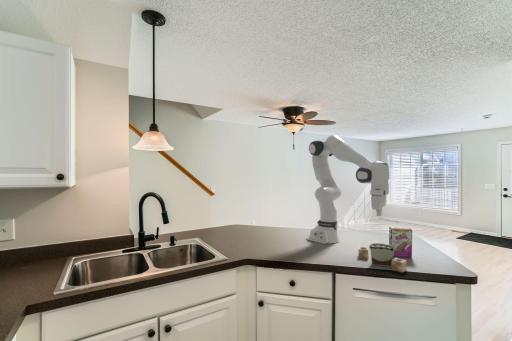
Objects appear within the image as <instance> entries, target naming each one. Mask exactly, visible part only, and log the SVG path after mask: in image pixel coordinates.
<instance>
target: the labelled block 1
mask: <svg viewBox="0 0 512 341" xmlns="http://www.w3.org/2000/svg"><path fill="white" fill-rule="evenodd" d="M357 251H358V256H357V257H358V258H359V259H364V260H368V259H369V247H365V246H358V250H357Z"/></svg>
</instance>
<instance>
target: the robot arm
mask: <svg viewBox="0 0 512 341" xmlns="http://www.w3.org/2000/svg"><path fill="white" fill-rule="evenodd" d="M308 151H309V153H310V155H311V158H312V159H311V163H312V169H313V172H314V175H315V179H316V181H317V182H318V183H319V185H320V187H318V188H316V190H315V192H314V196H315V199H316V200H317V203H318V206H319V210H320V213H319V214H320V219H319V220H318V221H317V222H316V223H317V225H316V226H314V227H313V228H312V229H310V231H309V235H308V236H306V240H308V241H311V242H315V243H319V244H324V245H325V244H326V245H327V244H337V243H339V242H340V240H339V236H338V220H337V218H338V217H337V216H338V215H337V214H338V213H337V208H335V204H334V201H336V200H338V199H339V198H340V197H341V195H342V190H341V188H340V187H339V186H338V184H337V183H336V181H335V179H334V178H333V175H332V171H331V168H330V164H329V161H328V157H332V156H334V157H335V158H336V159H337V160H339V161H342V162H347V163H350V164H351V163H352V164H353V165H356V166H358V167H359V168H357V170H356V172H355V179H356V180H357V182H359V184H360V183H361V184H370V192H369V195H371V196H370V199H371V200H370V202H371V203H370V204H371V209H372V210H375V211H376V216H377V217H380V216H382V210H383V208H384V207H385V206H386V204H387V195H389V194H390V183H389V180H390V166H389V164H388V162H386V161H381V160H374V161H372V162H370V161H369V159H367V158H365V157H364V156H363V155H362V154H360V153H359V152H358V151H356V150H355V149H353V147H351V146H350V144H348V142H346V141H344V139H343V138H341V137H339V136H337V135H334V134H333V135H332V134H331V135H330V136H328V137H327V138H326V139H318V140H313V141H311V142H310V143H309V146H308Z"/></svg>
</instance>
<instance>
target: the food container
mask: <svg viewBox="0 0 512 341" xmlns="http://www.w3.org/2000/svg"><path fill="white" fill-rule="evenodd" d="M368 249H369V251H370V258H371V265H372V266H375V265H376V266H382V267H383V266H384V267H391V268H392V259H394V256H393V251H394V252H395V250H394V247H392V246H390V245H389V244H385V243H371V244H369V247H368Z"/></svg>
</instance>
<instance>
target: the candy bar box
mask: <svg viewBox="0 0 512 341" xmlns="http://www.w3.org/2000/svg"><path fill="white" fill-rule="evenodd" d="M388 245H390V246H392V247H394V250H395V252H394V251H393V257H395V258H409V259H411V258H413V229H412V228H410V227H400V226H398V227H397V226H388Z"/></svg>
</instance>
